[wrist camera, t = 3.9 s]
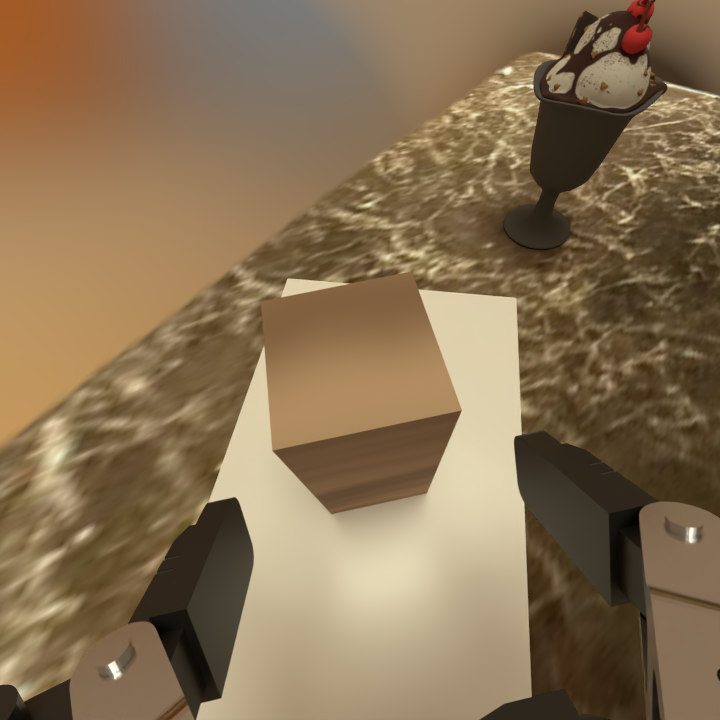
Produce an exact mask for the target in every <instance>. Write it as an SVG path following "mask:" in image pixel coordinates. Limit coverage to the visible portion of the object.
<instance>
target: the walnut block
mask: <svg viewBox="0 0 720 720" xmlns="http://www.w3.org/2000/svg"><path fill="white" fill-rule="evenodd" d="M261 309H262V322H263V335H264V348H265V361H266V375H267V388H268V401H269V414H270V428H271V441H272V451H273V452H274V453H275V454H276V455H277V456H278V457H279V458H280V459H281V461H282V462H283V463H284V464H285V465H286V466H287V467H288V468H289V469H290V470H291V471H292V472H293V473H294V475H295V476H296V477H297V478H298V479H299V480H300V481H301V482H302V483H303V484H304V485H305V486H306V487H307V489H308V490H309V491H310V492H311V493H312V494H313V495H314V496H315V497H316V498H317V499H318V500H319V501H320V502H321V504H322V505H323V506H324V507H325V508H326V509H327V510H328V511H329V512H330V513H331V514H335V513H339V512H344V511H348V510H353V509H357V508H362V507H366V506H371V505H376V504H380V503H385V502H389V501H394V500H398V499H403V498H407V497H412V496H416V495H421V494H426V493H427V492H428V490H429V487H430V485H431V483H432V480H433V478H434V476H435V473H436V471H437V468H438V466H439V464H440V461H441V459H442V457H443V454H444V452H445V449H446V447H447V445H448V442H449V440H450V438H451V435H452V433H453V430H454V428H455V426H456V423H457V421H458V419H459V416H460V414H461V412H462V409H461V406H460V403H459V401H458V398H457V395H456V392H455V390H454V387H453V384H452V381H451V378H450V376H449V373H448V370H447V367H446V365H445V362H444V359H443V356H442V354H441V351H440V348H439V345H438V343H437V340H436V337H435V334H434V332H433V329H432V326H431V323H430V320H429V318H428V315H427V312H426V309H425V307H424V304H423V301H422V298H421V296H420V293H419V290H418V287H417V285H416V282H415V279H414V276H413V274H412V272H407V273H402V274H397V275H392V276H387V277H382V278H377V279H372V280H367V281H362V282H357V283H352V284H347V285H341V286H336V287H331V288H326V289H321V290H316V291H311V292H306V293H301V294H296V295H291V296H286V297H281V298H276V299H271V300H266V301H261Z"/></svg>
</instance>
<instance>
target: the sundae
mask: <svg viewBox="0 0 720 720" xmlns="http://www.w3.org/2000/svg"><path fill="white" fill-rule="evenodd" d="M654 2H655V0H637V1H634V2H632V4H631V5H630V6H629V8H628V9H627V11H617V12H612V13H610V14H607V15H605V16H603V17H602V18H600V19H599V18H598V17H596V16H594V15H592V14H590V13H588V12H587V11H585V12H583V13H581V15H580V17H579V19H578V21H577V23H576V25H575V28H574V30H573V32H572V35H571V37H570V39H569V42H568V44H567V47H566V49H565V51H564V54H563V56H562V57H561V58H560V59H558V60H550V61H547V62H544V63H542V64H541V65H540V66H539V67H538V68H537V70H536V72H535V74H534V92H535V95H536V97H537V98H538V99H539V100H540V107H539V113H538V119H537V124H536V129H535V134H534V139H533V144H532V152H531V162H530V173H531V175H532V176H533V178H534V180H535V181H536V183H537V184H538V185H539V186H540V187H541V188H542V193H541V196H540V199H539V201H538V203H537V205H525V206H520V207H517V208H515V209H514V210H512V211H511V212H509V213H508V215H507V216H506V217H505V219H504V229H505V231H506V233H507V234H508V236H509V237H510V238H511V239H512V240H514V241H515V242H516V243H518V244H520V245H522V246H525V247H528V248H533V249H549V248H553V247H557V246H559V245H561V244H562V243H564V242H565V241H566V240H567V239H568V237H569V235H570V225H569V222H568V221H567V219H566V218H565V217H564V216H563V215H562V214H561V213H559V212H558V211H556V210H554V209H553V207H554V204H555V201H556V199H557V197H558V195H559V193H561V192H565V191H570V190H572V189H574V188H576V187H579V186H581V185H582V184H584V183H585V182H586V181H588V179H589V178H590V177H591V176H592V174H593V173H594V172H595V171H596V169H597V168H598V167H599V166H600V164H601V163H602V161H603V160H604V158H605V157H606V155H607V154H608V152H609V151H610V149H611V148H612V146H613V145H614V143H615V142H616V140H617V139H618V137H619V136H620V134H621V133H622V131H623V130H624V129H625V127H626V126H627V124H628V123H629V122H630V120H631V119H632V118H633V117H634V116H635V115H637V114H639V113H641V112H643V111H644V110H645V109H646V108H648V107H649V106H650V105H652V104H653V103H654V102H655V101H656V100H657V99H658V98H659V97H660V96H661V95H662V94H664V93H665V92H666V90H667V85H666V84H665V83H664V82H663V80H661V79H660V78H659V77H657V76H656V75H655V74H654V73H652V72H651V61H650V58H649V46H650V41H651V38H652V30H651V29H650V28H649V26H648V22H649V19H650V17H651V16H652V14H653V12H654V4H653V3H654Z"/></svg>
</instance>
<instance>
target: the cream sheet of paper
mask: <svg viewBox="0 0 720 720" xmlns="http://www.w3.org/2000/svg"><path fill="white" fill-rule="evenodd" d="M341 285H347V283H335V282H323V281H311V280H300V279H287V282H286V285H285V288H284V291H283V294H282V296H281V297H286V296H291V295H296V294H301V293H306V292H311V291H316V290H321V289H326V288H331V287H336V286H341ZM419 293H420V296H421V298H422V301H423V304H424V307H425V309H426V312H427V315H428V318H429V320H430V323H431V326H432V329H433V332H434V334H435V337H436V340H437V343H438V345H439V348H440V351H441V354H442V356H443V359H444V362H445V365H446V367H447V370H448V373H449V376H450V378H451V381H452V384H453V387H454V390H455V392H456V395H457V398H458V401H459V403H460V406H461V409H462V412H461V414H460V416H459V419H458V421H457V423H456V426H455V428H454V430H453V433H452V435H451V438H450V440H449V442H448V445H447V447H446V449H445V452H444V454H443V457H442V459H441V461H440V464H439V466H438V468H437V471H436V473H435V476H434V478H433V480H432V483H431V485H430V487H429V490H428V492H427V493H426V494H421V495H416V496H412V497H407V498H403V499H398V500H394V501H389V502H385V503H380V504H376V505H371V506H366V507H362V508H357V509H353V510H348V511H344V512H339V513H335V514H331V513H330V512H329V511H328V510H327V509H326V508H325V507H324V506H323V505H322V504H321V502H320V501H319V500H318V499H317V498H316V497H315V496H314V495H313V494H312V493H311V492H310V491H309V490H308V489H307V487H306V486H305V485H304V484H303V483H302V482H301V481H300V480H299V479H298V478H297V477H296V476H295V475H294V473H293V472H292V471H291V470H290V469H289V468H288V467H287V466H286V465H285V464H284V463H283V462H282V461H281V459H280V458H279V457H278V456H277V455H276V454H275V453H274V452H273V451H272V441H271V428H270V414H269V401H268V388H267V375H266V361H265V348H264V347H263V350H262V353H261V356H260V359H259V361H258V364H257V367H256V370H255V373H254V376H253V378H252V381H251V384H250V387H249V390H248V393H247V395H246V398H245V401H244V404H243V407H242V410H241V412H240V415H239V418H238V421H237V424H236V427H235V429H234V432H233V435H232V438H231V441H230V444H229V446H228V449H227V452H226V455H225V458H224V460H223V463H222V466H221V469H220V472H219V475H218V477H217V480H216V483H215V486H214V489H213V492H212V494H211V497H210V500H209V503H210V502H214V501H219V500H223V499H228V498H232V497H236V498H237V499H238V501H239V503H240V506H241V509H242V512H243V516H244V519H245V522H246V525H247V528H248V532H249V535H250V538H251V541H252V545H253V551H254V565H253V570H252V574H251V578H250V583H249V587H248V591H247V595H246V599H245V603H244V607H243V611H242V615H241V620H240V624H239V628H238V632H237V636H236V640H235V644H234V648H233V652H232V657H231V661H230V665H229V669H228V673H227V677H226V681H225V685H224V690H223V694H222V698H221V699H217V700H213V701H208V702H204V703H201V705H200V708H199V712H198V715H197V719H196V720H480V719H481V718H483V717H484V716H486V715H487V714H489V713H490V712H492V711H494V710H495V709H497V708H498V707H500V706H501V705H503V704H505V703H509V702H513V701H517V700H521V699H525V698H529V697H532V692H531V666H530V640H529V615H528V589H527V563H526V537H525V512H524V501H523V499H522V497H521V495H520V492H519V488H518V483H517V473H516V462H515V452H514V438H515V437H516V436H518V435H522V434H521V409H520V383H519V357H518V331H517V306H516V298H510V297H499V296H487V295H475V294H464V293H452V292H440V291H428V290H419Z"/></svg>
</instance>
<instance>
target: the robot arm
mask: <svg viewBox="0 0 720 720" xmlns="http://www.w3.org/2000/svg"><path fill="white" fill-rule="evenodd" d="M514 452H515V462H516V473H517V483H518V488H519V492H520V495H521V497H522V499H523V501H524V503H525V505H526V506H527V507H528V509H529V510H530V511H531V512H532V513H533V515H534V516H535V517H536V518H537V519H538V520H539V522H540V523H541V524H542V525H543V526H544V528H545V529H546V530H547V531H548V532H549V534H550V535H551V536H552V537H553V538H554V539H555V541H556V542H557V543H558V544H559V545H560V547H561V548H562V549H563V550H564V551H565V553H566V554H567V555H568V556H569V557H570V559H571V560H572V561H573V562H574V563H575V564H576V566H577V567H578V568H579V569H580V570H581V572H582V573H583V574H584V575H585V576H586V578H587V579H588V580H589V581H590V582H591V584H592V585H593V586H594V587H595V588H596V589H597V591H598V592H599V593H600V594H601V595H602V597H603V598H604V599H605V600H606V601H607V603H608V604H609V605H610V606H611V607H612V606H616V605H620V604H624V603H629V602H632V603H633V604H634V605H635V606H636V608H637V609H638V610H639V629H640V642H641V654H642V667H643V680H644V693H645V705H646V720H720V518H718V517H717V516H715V515H713V514H711V513H710V512H708V511H705V510H703V509H700V508H698V507H695V506H691V505H687V504H683V503H677V502H659V501H658V500H656V499H655V498H653V497H652V496H650V495H649V494H648V493H646V492H645V491H643V490H642V489H640V488H639V487H638V486H636V485H635V484H633V483H632V482H630V481H629V480H628V479H626V478H625V477H623V476H622V475H621V474H619V473H618V472H614V470H613V469H612V468H611V467H609V466H608V465H606V464H605V463H602V462H601V460H599V459H598V458H596V457H595V456H593V455H592V454H591V453H589V452H588V451H586V450H584V449H581V448H578V447H576V446H573V445H570V444H567V443H565V444H561V443H560V442H558V441H557V440H556V439H554V438H553V437H552V436H550V435H549V434H548V433H546V432H545V431H536V432H532V433H527V434H523V435H518V436H516V437H515V438H514ZM253 565H254V551H253V545H252V541H251V538H250V535H249V532H248V528H247V525H246V522H245V519H244V516H243V512H242V509H241V506H240V503H239V501H238V499H237V498H236V497H232V498H228V499H223V500H219V501H214V502H210V503H207V504H206V505H205V507H204V509H203V511H202V513H201V515H200V517H199V519H198V521H197V523H196V525H192V526H189V527H188V528H187V529H186V530H185V531H184V532H183V533H182V534H181V535H180V536H179V537H178V538H177V539H176V540H175V541H174V542H173V544H172V545H171V547H170V549H169V551H168V553H167V554H166V556H165V561H163V562H162V563H161V565H160V567H159V569H158V571H157V575H155V576H154V578H153V580H152V581H151V583H150V585H149V587H148V589H147V590H146V592H145V594H144V596H143V598H142V599H141V601H140V603H139V605H138V607H137V608H136V610H135V612H134V614H133V616H132V617H131V619H130V621H129V623H128V625H125V626H123V627H121V628H119V629H117V630H115V631H113V632H112V633H110V634H108V635H107V636H106V637H104V638H103V639H102V640H100V641H99V642H98V643H97V644H96V645H95V646H94V647H93V648H92V649H91V650H89V652H88V653H87V654H86V655H85V656H84V657H83V659H82V660H81V661H80V663H79V664H78V666H77V667H76V669H75V671H74V673H73V675H72V677H71V679H69V680H67V681H65V682H63V683H61V684H59V685H57V686H55V687H53V688H51V689H49V690H47V691H45V692H43V693H41V694H39V695H37V696H35V697H33V698H31V699H29V700H27V701H25V702H24V701H23V700H22V698H21V696H20V694H19V693H18V691H17V689H16V688H15V687H14V686H12V685H0V720H196V719H197V715H198V712H199V708H200V705H201V703H204V702H208V701H213V700H217V699H221V698H222V694H223V690H224V685H225V681H226V677H227V673H228V669H229V665H230V661H231V657H232V652H233V648H234V644H235V640H236V636H237V632H238V628H239V624H240V620H241V615H242V611H243V607H244V603H245V599H246V595H247V591H248V587H249V583H250V578H251V574H252V570H253ZM480 720H609V719H606V718H602V717H597V716H593V715H588V714H578V712H577V710H576V708H575V707H574V705H573V703H572V701H571V700H570V698H569V696H568V694H567V693H566V691H565V689H562V690H558V691H554V692H550V693H546V694H541V695H537V696H533V697H529V698H525V699H521V700H517V701H513V702H509V703H505V704H503V705H501V706H500V707H498V708H497V709H495V710H494V711H492V712H490V713H489V714H487V715H486V716H484V717H483V718H481V719H480Z"/></svg>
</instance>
